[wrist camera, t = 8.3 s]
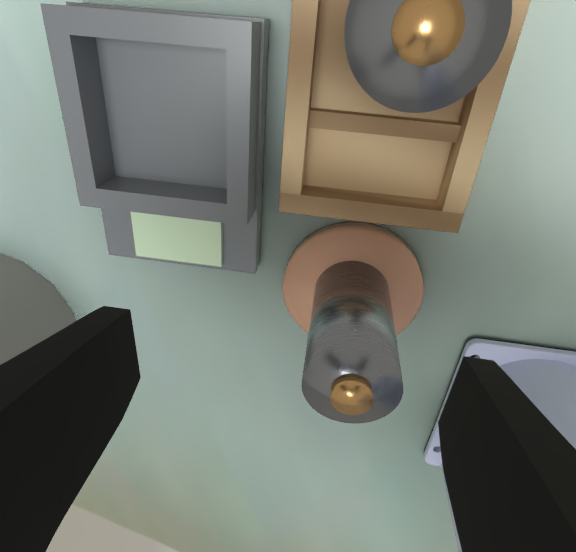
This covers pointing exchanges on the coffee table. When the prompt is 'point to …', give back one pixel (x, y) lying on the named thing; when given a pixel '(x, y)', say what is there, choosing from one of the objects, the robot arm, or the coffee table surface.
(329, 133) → the tray
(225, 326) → the coffee table surface
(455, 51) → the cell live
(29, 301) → the cup
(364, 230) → the dish
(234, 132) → the cradle
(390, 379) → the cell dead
